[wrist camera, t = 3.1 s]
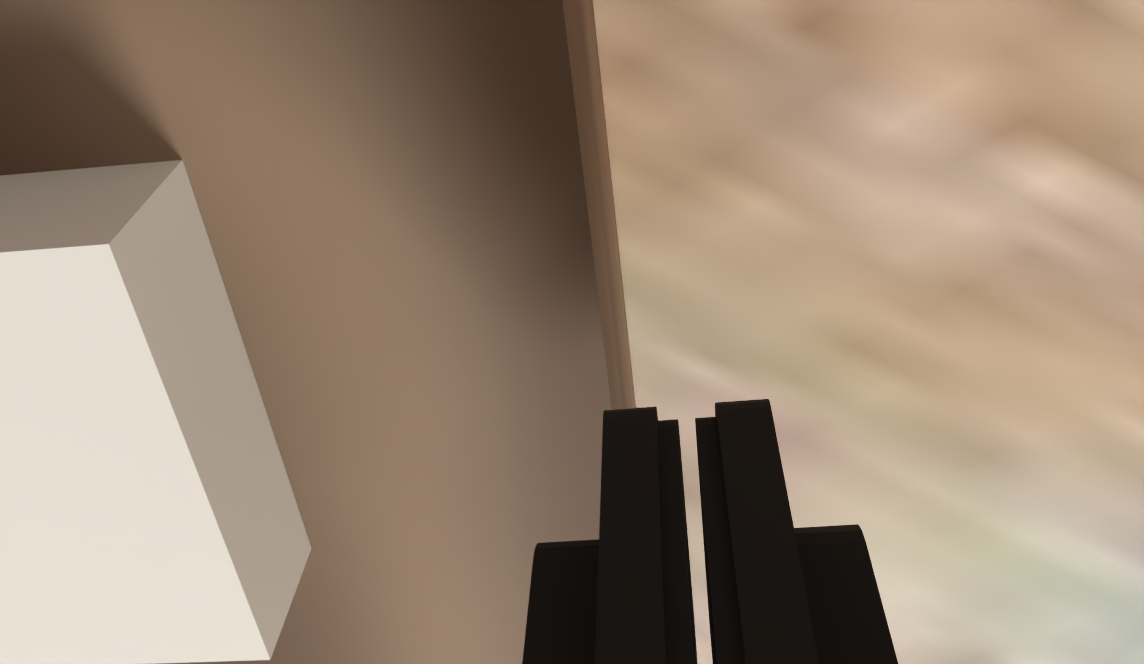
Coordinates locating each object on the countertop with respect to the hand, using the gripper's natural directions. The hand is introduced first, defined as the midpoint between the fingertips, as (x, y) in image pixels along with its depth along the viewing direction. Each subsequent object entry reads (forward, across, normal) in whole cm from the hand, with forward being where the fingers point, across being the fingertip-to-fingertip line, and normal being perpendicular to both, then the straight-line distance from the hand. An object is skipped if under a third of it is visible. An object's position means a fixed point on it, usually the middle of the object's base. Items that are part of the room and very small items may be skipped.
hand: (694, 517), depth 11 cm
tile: (+3, +9, 0) cm, 10 cm away
